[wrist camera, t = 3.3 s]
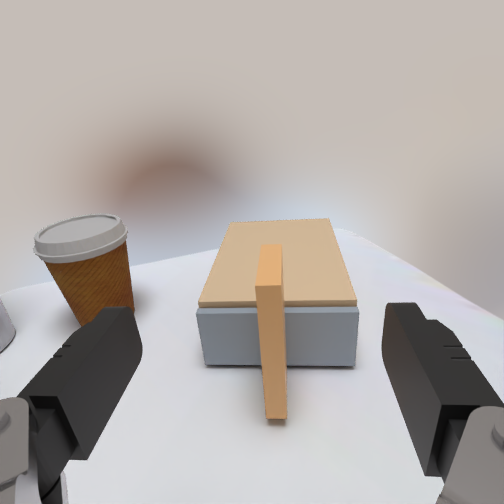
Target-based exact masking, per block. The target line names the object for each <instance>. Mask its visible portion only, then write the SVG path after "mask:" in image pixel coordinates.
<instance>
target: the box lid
mask: <svg viewBox="0 0 504 504" xmlns="http://www.w3.org/2000/svg"><path fill="white" fill-rule="evenodd" d="M265 244H282V259H283V284H284V307H357V298H356V295H355V292H354V290H353V287H352V284H351V281H350V278H349V275H348V272H347V269H346V266H345V264H344V261H343V258H342V255H341V252H340V249H339V246H338V243H337V240H336V237H335V235H334V232H333V229H332V226H331V223H330V220H329V218H328V219H304V220H303V219H302V220H277V221H254V222H231V223H230V225H229V227H228V230H227V232H226V235H225V237H224V240H223V242H222V244H221V247H220V249H219V252H218V254H217V256H216V259H215V261H214V264H213V266H212V269H211V271H210V274H209V276H208V279H207V281H206V283H205V286H204V288H203V291H202V293H201V296H200V298H199V301H198V305H199V308H257V304H256V292H255V282H256V276H257V269H258V263H259V256H260V249H261V245H265Z"/></svg>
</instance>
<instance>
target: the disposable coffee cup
mask: <svg viewBox="0 0 504 504" xmlns="http://www.w3.org/2000/svg"><path fill="white" fill-rule="evenodd" d="M127 233H128V228H127V227H126V226H125V225H124V224H123V223H122V221H121V219H120V218H119V217H118V216H116V215H113V214H90V215H84V216H78V217H73V218H70V219H66V220H62V221H59V222H56V223H54V224H51V225H49V226H47V227H45V228H43V229H41V230H40V231H39V232H37V233H36V235H35V237H34V239H35V246H34V248H33V251H34V253H35V254H36V255H37V256H39V258H40V259H41V260H43V261H44V262H45V264H46V266H47V268H48V270H49V271H50V273H51V275H52V276H53V278H54V280H55V281H56V284H57V285H58V287H59V289H60V290H61V292H62V294H63V295H64V297H65V299H66V301H67V303H68V304H69V306H70V308H71V310H72V311H73V313H74V315H75V316H76V318H77V320H78V322H79V323H80V325H81V327H83V326H84V325H85V324H87V323H88V322H92V320H93V319H94V318H95V317H96V316H97V314H98V313H99V312H100V311H101V310H102V309H103V308H104V307H122V306H128V307H130V308H131V309H132V311H133V314H134V311H135V309H134V302H133V294H132V286H131V276H130V270H129V262H128V253H127V245H126V238H127Z"/></svg>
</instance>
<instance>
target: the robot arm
mask: <svg viewBox="0 0 504 504" xmlns="http://www.w3.org/2000/svg"><path fill="white" fill-rule="evenodd" d="M14 335H15V328H14V326H13V324H12V322H11V320H10V318H9V316H8V314H7V312H6V310H5V307H4V305H3V303H2V301H1V299H0V352H1V351H2V350H3V349H4V348H5V347H6V346H7V345H8V344H9V343H10V342H11V340H12V339H13V337H14ZM141 357H142V342H141V338H140V335H139V331H138V328H137V324H136V321H135V317H134V314H133V311H132V309H131V308H130V307H128V306H122V307H104V308H103V309H102V310H101V311H100V312H99V313H98V314H97V316H96V317H95V318H94V319H93V320H92V322H88V323H87V324H85V325H84V326H83V327H81V328H80V329H78V330H77V331H75V332H74V333H73V334H72V335H71V336H70V337H69V338H68V339H67V340H66V342H65V343H64V344H63V345H62V348H59V349H58V351H57V352H56V353H55V354H54V355H53V358H50V360H49V361H48V362H47V363H46V364H45V365H44V366H43V367H42V369H41V370H40V371H39V372H38V373H37V374H36V375H35V377H34V378H33V379H32V380H31V381H30V382H29V383H28V384H27V386H26V387H25V388H24V389H23V390H22V391H21V392H20V393H19V395H18V396H17V397H12V398H7V399H3V400H0V504H68V494H67V483H66V476H65V473H64V471H63V469H64V467H65V466H66V464H67V462H68V461H69V460H87V459H88V458H89V456H90V454H91V452H92V450H93V448H94V446H95V445H96V443H97V441H98V439H99V437H100V435H101V434H102V432H103V430H104V428H105V426H106V424H107V422H108V421H109V419H110V417H111V415H112V413H113V411H114V409H115V408H116V406H117V404H118V402H119V400H120V398H121V397H122V395H123V393H124V391H125V389H126V387H127V385H128V384H129V382H130V380H131V378H132V376H133V374H134V373H135V371H136V369H137V367H138V365H139V363H140V361H141ZM382 357H383V362H384V366H385V368H386V371H387V374H388V377H389V379H390V382H391V385H392V387H393V390H394V393H395V396H396V398H397V401H398V404H399V407H400V409H401V412H402V415H403V417H404V420H405V423H406V426H407V428H408V431H409V434H410V437H411V439H412V442H413V445H414V448H415V450H416V453H417V456H418V458H419V461H420V464H421V467H422V469H423V472H424V475H425V476H433V477H442V479H443V482H444V487H443V490H442V492H441V494H440V495H439V497H438V499H437V502H436V504H504V403H503V402H502V401H501V399H500V398H499V396H498V395H497V394H496V392H495V391H494V389H493V388H492V386H491V385H490V384H489V382H488V381H487V379H486V378H485V377H484V375H483V374H482V372H481V371H480V369H479V368H478V367H477V365H476V364H475V362H474V361H472V360H471V357H470V355H469V354H468V352H467V351H466V350H465V348H463V345H462V344H461V343H460V341H459V340H458V338H457V337H456V335H455V334H454V333H453V331H451V330H450V329H449V328H447V327H446V326H445V325H443V324H442V323H440V322H439V321H438V320H427V319H426V318H425V316H424V315H423V313H422V311H421V310H420V308H419V307H418V305H417V304H416V303H387V305H386V309H385V318H384V327H383V336H382Z"/></svg>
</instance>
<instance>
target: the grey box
mask: <svg viewBox="0 0 504 504" xmlns="http://www.w3.org/2000/svg"><path fill="white" fill-rule="evenodd" d="M255 292H256V304H257V308H198V310H197V312H196V317H197V322H198V328H199V333H200V339H201V344H202V350H203V355H204V361H205V365H262V375H263V387H264V399H265V411H266V418H267V419H287V365H304V366H355V359H356V346H357V334H358V322H359V310H358V307H284V284H283V259H282V244H265V245H261V249H260V256H259V263H258V269H257V276H256V282H255Z"/></svg>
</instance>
